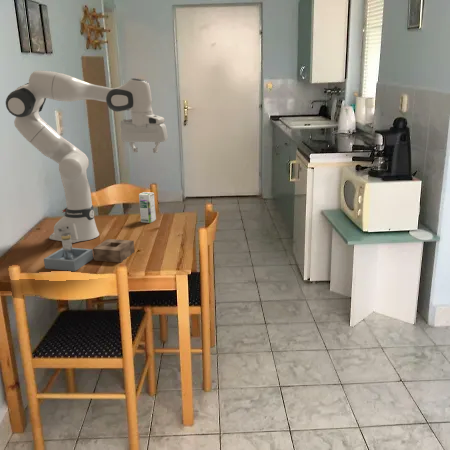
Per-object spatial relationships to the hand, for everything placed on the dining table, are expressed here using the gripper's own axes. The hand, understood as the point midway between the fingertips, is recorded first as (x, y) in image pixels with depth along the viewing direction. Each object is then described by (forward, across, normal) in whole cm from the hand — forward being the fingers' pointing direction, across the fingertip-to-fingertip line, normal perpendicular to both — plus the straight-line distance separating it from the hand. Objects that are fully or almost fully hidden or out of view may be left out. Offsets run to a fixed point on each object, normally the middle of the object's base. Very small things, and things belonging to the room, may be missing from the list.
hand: (145, 152), depth 208 cm
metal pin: (+38, -21, -33) cm, 55 cm away
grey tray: (+39, -21, -33) cm, 55 cm away
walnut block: (+39, -7, -22) cm, 45 cm away
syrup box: (+39, -14, +26) cm, 49 cm away
